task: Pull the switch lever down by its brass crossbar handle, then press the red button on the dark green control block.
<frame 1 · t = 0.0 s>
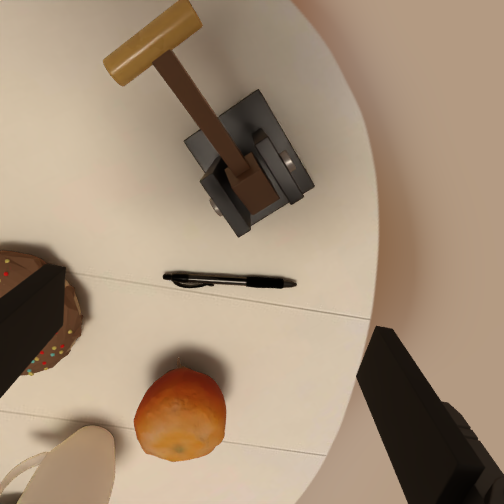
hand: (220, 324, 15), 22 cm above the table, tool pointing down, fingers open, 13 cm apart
pen: (230, 279, 39), on the table
mug: (84, 438, 47), on the table
lever: (213, 129, 21), point 13 cm above the table, hinge at 25.0°
switch bracket: (250, 162, 35), on the table
donut: (28, 299, 40), on the table
fruit: (191, 379, 44), on the table
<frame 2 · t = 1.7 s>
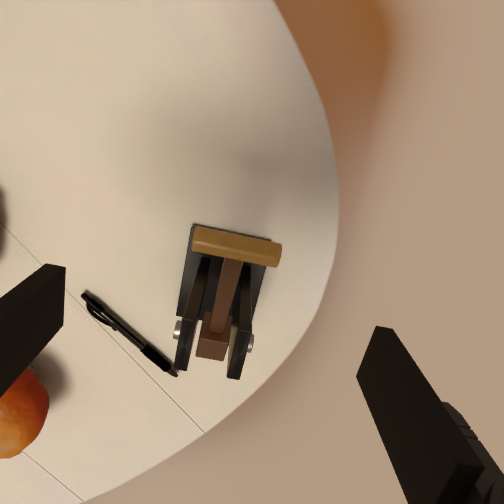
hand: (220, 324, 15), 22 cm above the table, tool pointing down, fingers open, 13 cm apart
pen: (132, 334, 41), on the table
lever: (223, 301, 25), point 13 cm above the table, hinge at 25.0°
switch bracket: (222, 276, 38), on the table
fruit: (27, 376, 43), on the table
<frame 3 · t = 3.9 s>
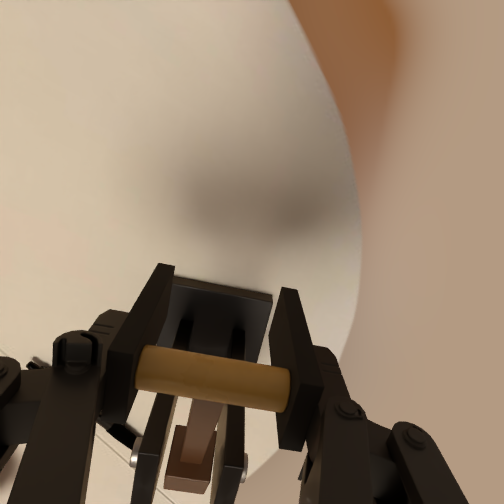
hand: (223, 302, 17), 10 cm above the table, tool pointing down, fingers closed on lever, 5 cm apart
pen: (96, 408, 32), on the table
lever: (198, 430, 16), point 13 cm above the table, hinge at 25.0°, touching gripper
switch bracket: (209, 339, 30), on the table
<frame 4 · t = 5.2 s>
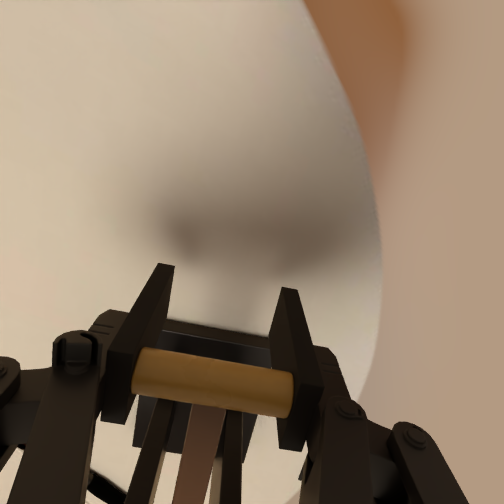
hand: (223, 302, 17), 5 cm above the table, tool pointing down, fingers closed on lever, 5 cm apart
pen: (73, 460, 28), on the table
lever: (188, 498, 14), point 11 cm above the table, hinge at -1.4°, touching gripper
switch bracket: (202, 388, 25), on the table
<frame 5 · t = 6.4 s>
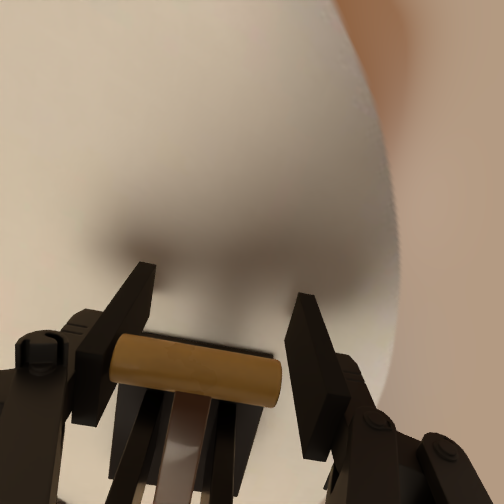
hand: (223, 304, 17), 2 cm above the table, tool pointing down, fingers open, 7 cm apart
switch bracket: (189, 411, 22), on the table
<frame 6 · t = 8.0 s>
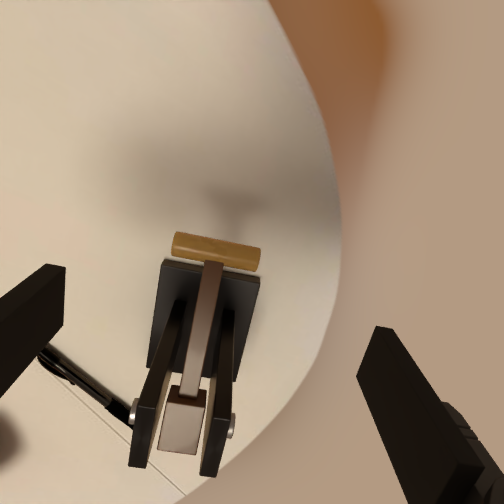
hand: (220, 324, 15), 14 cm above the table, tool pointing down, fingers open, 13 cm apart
pen: (95, 387, 34), on the table
lever: (198, 341, 21), point 10 cm above the table, hinge at -18.6°
switch bracket: (202, 320, 32), on the table
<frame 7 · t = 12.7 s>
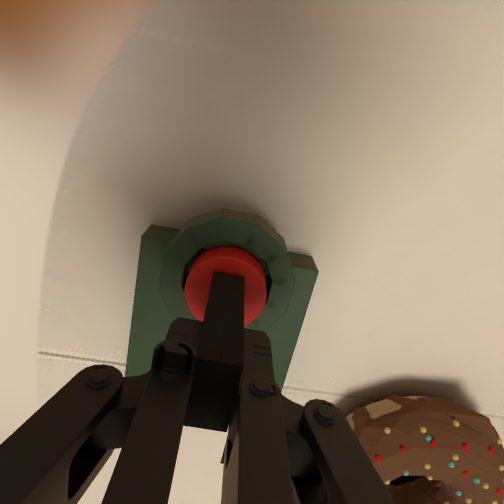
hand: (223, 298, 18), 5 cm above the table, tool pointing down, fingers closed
button: (226, 287, 19), point 4 cm above the table, slide at -0.1 cm, touching gripper
button block: (215, 323, 24), on the table
donut: (398, 445, 29), on the table
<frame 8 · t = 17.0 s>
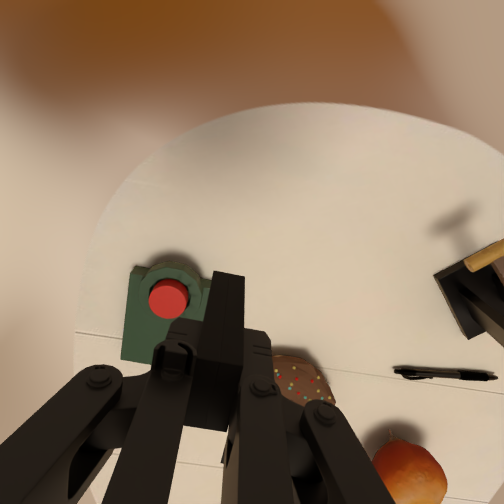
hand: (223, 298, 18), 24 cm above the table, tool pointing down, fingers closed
pen: (442, 372, 50), on the table
switch bracket: (479, 290, 45), on the table
button: (168, 298, 40), point 4 cm above the table, slide at 0.1 cm
button block: (170, 316, 46), on the table
donut: (279, 386, 50), on the table
fruit: (392, 444, 54), on the table
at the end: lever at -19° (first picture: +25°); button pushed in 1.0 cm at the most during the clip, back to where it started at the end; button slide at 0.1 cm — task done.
